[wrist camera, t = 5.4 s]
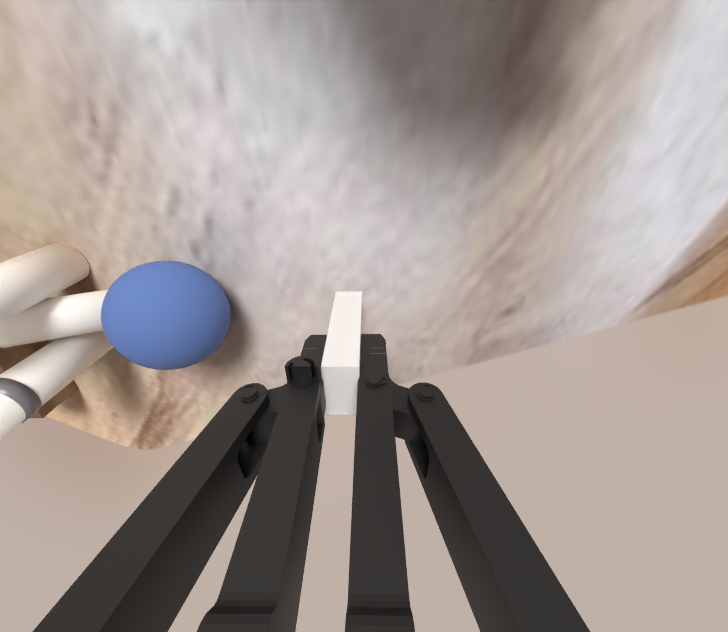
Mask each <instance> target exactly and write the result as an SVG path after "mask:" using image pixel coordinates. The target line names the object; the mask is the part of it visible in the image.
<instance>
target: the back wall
mask: <svg viewBox="0 0 728 632" xmlns="http://www.w3.org/2000/svg"><path fill="white" fill-rule="evenodd" d="M47 344H48V343H47V341H41V342H35V343H29V344H24V345H18V346H12V347H9V348H6V349H0V374H2V373H3V372H5V371H6V370H8V369H10V368H11V367H13V366H14V365H16V364H17V363H19V362H21V361H22V360H24V359H25V358H27V357H28V356H30V355H31V354H33V353H35V352H36V351H38V350H39V349H41V348H42V347H44V346H46V345H47ZM77 388H78V387H77V386H76V384H75V383H74V381H72V382H70V383H69V384H68V385H67V386H66V387H64V388H63V389H62V390H61V391H59V392H58V393H57V394H56V395H55V396H53V397H52V398H51V399H50V400H48V401H47V402H46V403H45V404H44V405H42V406H41V408H40V409H39V410H38V411H37V412H35V413H34V414H33V415H32V416H31V417H29V418H44V417H45V416H46V415H47V414H48V413H49V412H51V411H52V410H53V409H54V408H55V407H56V406H57V405H59V404H60V403H61V402H62V401H63V400H64V399H65V398H67V397H68V396H69V395H70V394H71V393H72V392H73V391H75V390H76V389H77Z"/></svg>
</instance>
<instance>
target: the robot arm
mask: <svg viewBox="0 0 728 632" xmlns="http://www.w3.org/2000/svg"><path fill="white" fill-rule="evenodd" d="M362 331H363V330H362V292H336V294H335V299H334V304H333V309H332V314H331V319H330V324H329V329H328V334H327V335H310V336H309V337H308V338H307V339H306V340H305V343H304V346H303V349H302V353H301V356H298V357H295V358H293V359H291V360H290V361H288V362H287V363H286V365H285V371H286V376H287V384H285V385H283V386H281V387H278V388H274V389H270V390H267V388H266V387H265V386H264V385H261V384H259V383H252V384H248V385H245V386H243V387H241V388H239V389H238V390H237V391H236V392H235V393H234V394H233V395H232V396H231V397H230V399H229V400H228V401H227V402H226V403H225V405H224V406H223V407H222V408H221V409H220V410H219V412H218V413H217V414H216V415H215V416H214V418H213V419H212V420H211V421H210V422H209V423H208V425H207V426H206V427H205V428H204V429H203V431H202V432H201V433H200V434H199V435H198V436H197V438H196V439H195V440H194V441H193V442H192V444H191V445H190V446H189V447H188V448H187V450H186V451H185V452H184V453H183V454H182V455H181V457H180V458H179V459H178V460H177V461H176V463H175V464H174V465H173V466H172V467H171V469H170V470H169V471H168V472H167V473H166V474H165V476H164V477H163V478H162V479H161V480H160V482H159V483H158V484H157V485H156V486H155V487H154V489H153V490H152V491H151V492H150V493H149V494H148V496H147V497H146V498H145V499H144V501H143V502H142V503H141V504H140V505H139V506H138V508H137V509H136V510H135V511H134V512H133V514H132V515H131V516H130V517H129V518H128V519H127V521H126V522H125V523H124V524H123V525H122V527H121V528H120V529H119V530H118V531H117V532H116V534H115V535H114V536H113V537H112V538H111V539H110V541H109V542H108V543H107V544H106V546H105V547H104V548H103V549H102V550H101V551H100V553H99V554H98V555H97V556H96V557H95V559H94V560H93V561H92V562H91V563H90V564H89V566H88V567H87V568H86V569H85V570H84V572H83V573H82V574H81V575H80V576H79V577H78V579H77V580H76V581H75V582H74V583H73V585H72V586H71V587H70V588H69V589H68V590H67V592H66V593H65V594H64V595H63V596H62V598H61V599H60V600H59V601H58V602H57V603H56V605H55V606H54V607H53V608H52V610H51V611H50V612H49V613H48V614H47V615H46V616H45V618H44V619H43V620H42V621H41V622H40V624H39V625H38V626H37V627H36V628H35V630H34V631H33V632H168V630H169V628H170V626H171V625H172V623H173V621H174V619H175V618H176V616H177V614H178V613H179V611H180V609H181V607H182V606H183V604H184V602H185V600H186V598H187V597H188V595H189V593H190V592H191V590H192V588H193V586H194V585H195V583H196V581H197V579H198V578H199V576H200V574H201V572H202V571H203V569H204V567H205V565H206V563H207V562H208V560H209V558H210V556H211V555H212V553H213V551H214V550H215V548H216V546H217V545H218V543H219V541H220V539H221V538H222V536H223V534H224V532H225V531H226V529H227V527H228V525H229V524H230V522H231V520H232V518H233V517H234V515H235V513H236V511H237V510H238V508H239V506H240V504H241V502H242V501H243V499H244V497H245V496H246V494H247V492H248V490H249V489H250V487H251V485H252V484H253V482H254V480H255V478H256V477H257V479H256V482H255V485H254V488H253V491H252V495H251V498H250V501H249V504H248V507H247V510H246V513H245V516H244V520H243V523H242V526H241V529H240V532H239V535H238V538H237V541H236V545H235V548H234V551H233V554H232V557H231V560H230V563H229V566H228V569H227V572H226V576H225V579H224V582H223V585H222V588H221V591H220V594H219V597H218V599H217V602H216V603H215V605H214V607H212V608H211V609H210V610H209V611H208V612H207V613H206V614H205V616H204V618H203V620H202V621H201V623H200V625H199V628H198V630H197V632H295V629H296V622H297V615H298V608H299V601H300V594H301V587H302V581H303V573H304V565H305V560H306V552H307V546H308V539H309V532H310V525H311V518H312V511H313V504H314V497H315V490H316V483H317V476H318V469H319V463H320V456H321V449H322V442H323V435H324V428H325V421H324V413H325V410H326V415H356V430H355V454H354V476H353V497H352V521H351V543H350V566H349V587H348V605H347V613H346V624H345V632H415V629H414V622H413V615H412V612H411V608H410V602H409V591H408V580H407V568H406V557H405V545H404V534H403V523H402V511H401V499H400V488H399V478H398V465H397V455H396V443H395V437H398V438H401V439H404V440H405V443H406V446H407V448H408V451H409V453H410V456H411V458H412V461H413V463H414V466H415V468H416V471H417V473H418V476H419V478H420V481H421V483H422V486H423V488H424V491H425V493H426V496H427V499H428V501H429V503H430V506H431V509H432V511H433V514H434V516H435V519H436V521H437V524H438V526H439V529H440V531H441V534H442V536H443V539H444V541H445V544H446V546H447V548H448V551H449V554H450V556H451V559H452V561H453V564H454V566H455V569H456V571H457V574H458V576H459V579H460V581H461V584H462V586H463V589H464V591H465V594H466V597H467V599H468V601H469V604H470V607H471V609H472V612H473V614H474V617H475V619H476V622H477V624H478V627H479V629H480V632H590V631H589V629H588V628H587V626H586V624H585V623H584V621H583V619H582V618H581V616H580V615H579V613H578V611H577V610H576V608H575V607H574V605H573V603H572V602H571V600H570V599H569V597H568V595H567V594H566V592H565V591H564V589H563V587H562V586H561V584H560V582H559V581H558V579H557V578H556V576H555V574H554V573H553V571H552V569H551V568H550V566H549V565H548V563H547V561H546V560H545V558H544V556H543V555H542V553H541V552H540V550H539V548H538V547H537V545H536V544H535V542H534V540H533V539H532V537H531V535H530V534H529V532H528V531H527V529H526V527H525V526H524V524H523V523H522V521H521V519H520V518H519V516H518V515H517V513H516V511H515V510H514V508H513V506H512V505H511V503H510V502H509V500H508V498H507V497H506V495H505V493H504V492H503V490H502V489H501V487H500V486H499V484H498V482H497V481H496V479H495V477H494V476H493V474H492V472H491V471H490V469H489V468H488V466H487V464H486V463H485V461H484V460H483V458H482V456H481V455H480V453H479V451H478V450H477V448H476V447H475V445H474V444H473V442H472V440H471V439H470V437H469V435H468V434H467V432H466V430H465V429H464V427H463V426H462V424H461V422H460V421H459V419H458V418H457V416H456V414H455V413H454V411H453V410H452V408H451V406H450V405H449V403H448V401H447V400H446V398H445V397H444V395H443V393H442V392H441V391H440V390H439V388H438V387H436V386H434V385H432V384H429V383H417V384H414V385H413V386H412V387H411V388H410V389H409V388H405V387H402V386H399V385H397V384H395V383H394V382H393V381H392V380H391V379H390V378H389V375H388V365H387V354H386V342H385V339H384V338H383V336H382V335H381V334H362ZM257 475H258V476H257Z"/></svg>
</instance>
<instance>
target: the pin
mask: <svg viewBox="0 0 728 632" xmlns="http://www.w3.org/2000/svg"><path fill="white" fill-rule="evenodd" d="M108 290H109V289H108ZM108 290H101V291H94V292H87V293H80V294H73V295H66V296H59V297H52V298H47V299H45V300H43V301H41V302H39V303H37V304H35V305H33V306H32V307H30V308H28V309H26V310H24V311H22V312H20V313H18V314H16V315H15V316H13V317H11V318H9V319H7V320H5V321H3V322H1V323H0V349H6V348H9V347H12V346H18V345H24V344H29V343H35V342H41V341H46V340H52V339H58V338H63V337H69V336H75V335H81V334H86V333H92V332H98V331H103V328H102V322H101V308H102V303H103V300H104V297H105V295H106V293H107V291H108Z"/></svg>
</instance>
